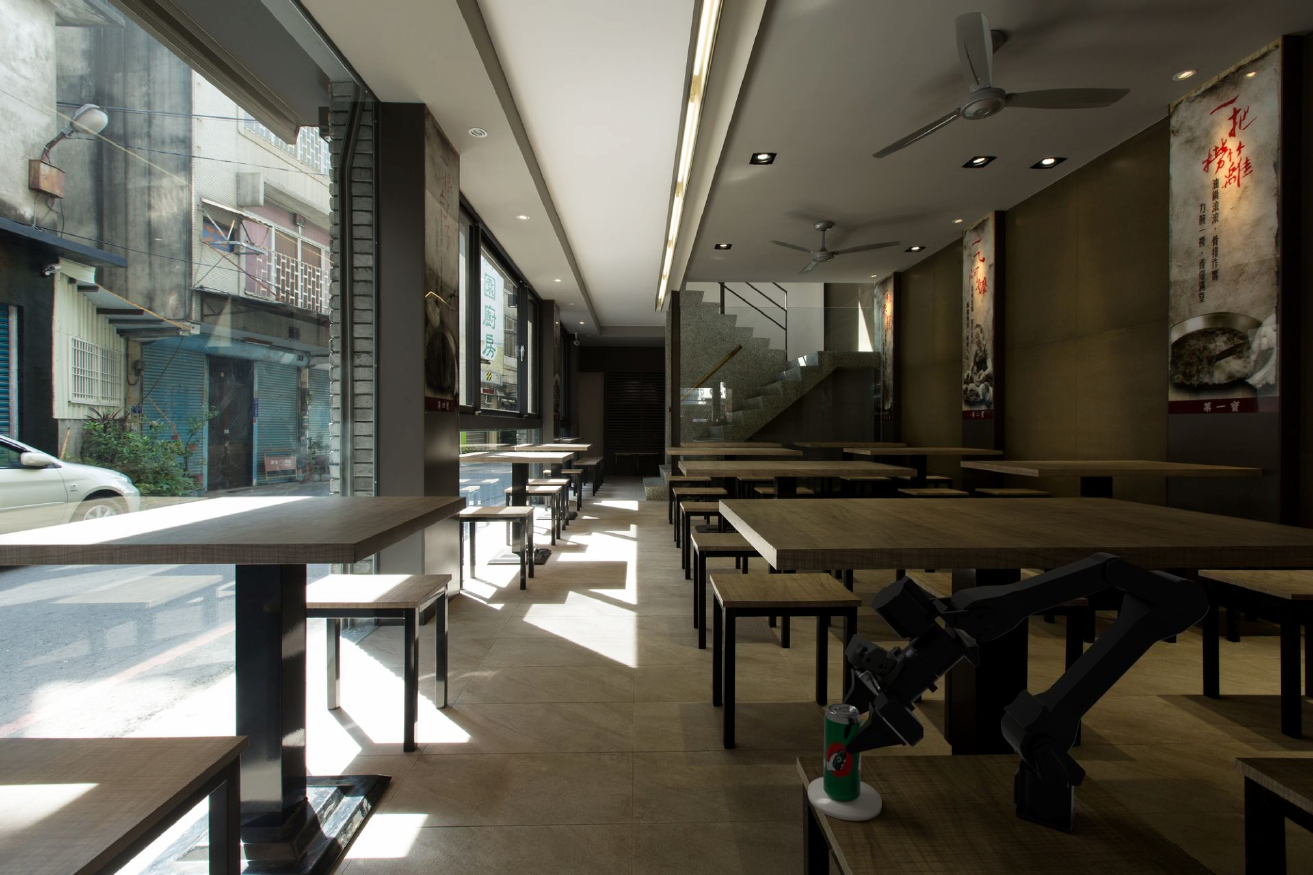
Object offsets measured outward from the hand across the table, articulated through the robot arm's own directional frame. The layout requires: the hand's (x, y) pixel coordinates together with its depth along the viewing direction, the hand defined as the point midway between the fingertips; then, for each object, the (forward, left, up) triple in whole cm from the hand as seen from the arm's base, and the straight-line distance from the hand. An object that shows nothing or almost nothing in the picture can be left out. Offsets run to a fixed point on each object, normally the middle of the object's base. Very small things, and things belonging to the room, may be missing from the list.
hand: (840, 735), depth 93 cm
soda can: (0, 0, -8) cm, 8 cm away
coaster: (-1, 0, -9) cm, 9 cm away
